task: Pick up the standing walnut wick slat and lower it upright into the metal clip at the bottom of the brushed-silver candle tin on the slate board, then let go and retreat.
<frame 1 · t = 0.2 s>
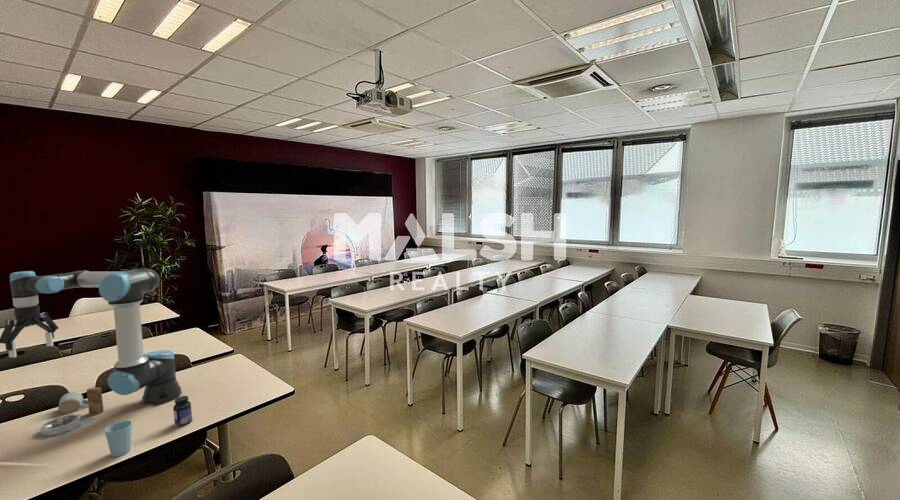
hand: (32, 351, 166), 28 cm above the table, fingers open, 13 cm apart
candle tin: (62, 427, 152), resting on slate board
cup: (121, 452, 137), on the table
walnut wick: (96, 414, 164), on the table
pill bottle: (183, 423, 157), on the table
slate board: (66, 428, 153), on the table
ceramic mug: (75, 410, 168), on the table
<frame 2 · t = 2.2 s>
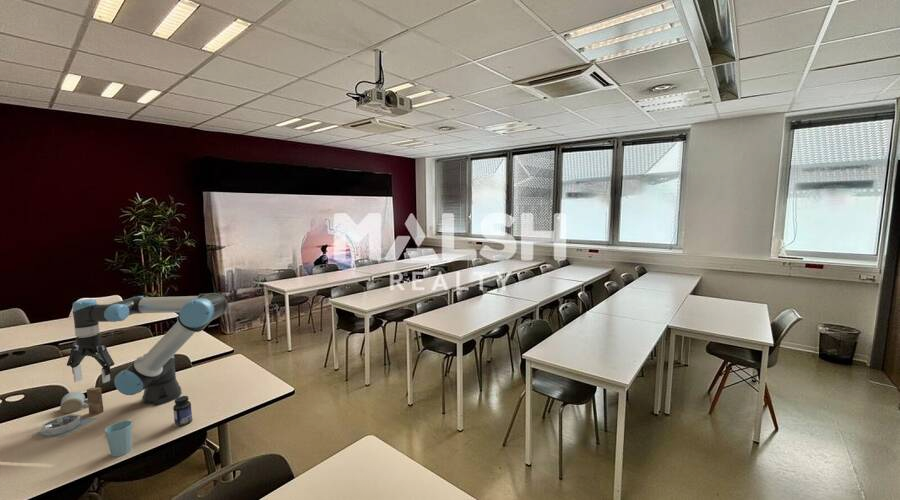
hand: (92, 381, 162), 15 cm above the table, fingers open, 13 cm apart
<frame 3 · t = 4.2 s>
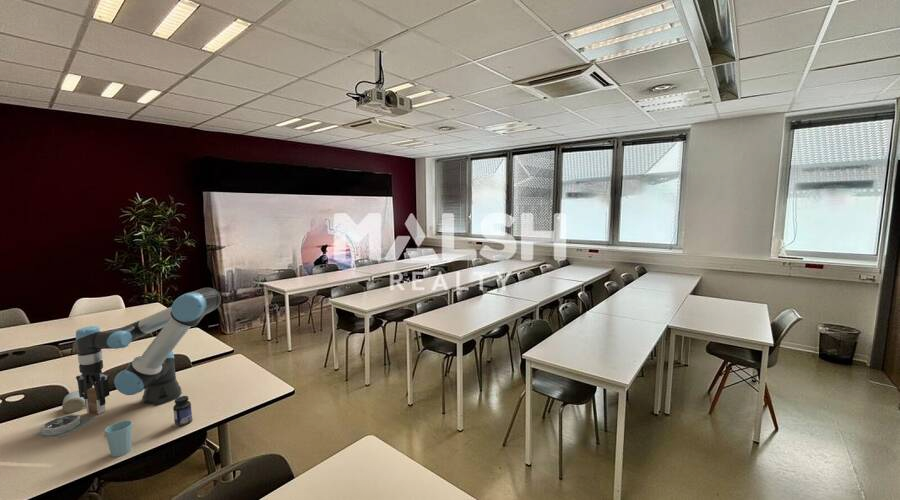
hand: (96, 411, 164), 1 cm above the table, fingers closed on walnut wick, 4 cm apart
walnut wick: (96, 414, 164), on the table, touching gripper
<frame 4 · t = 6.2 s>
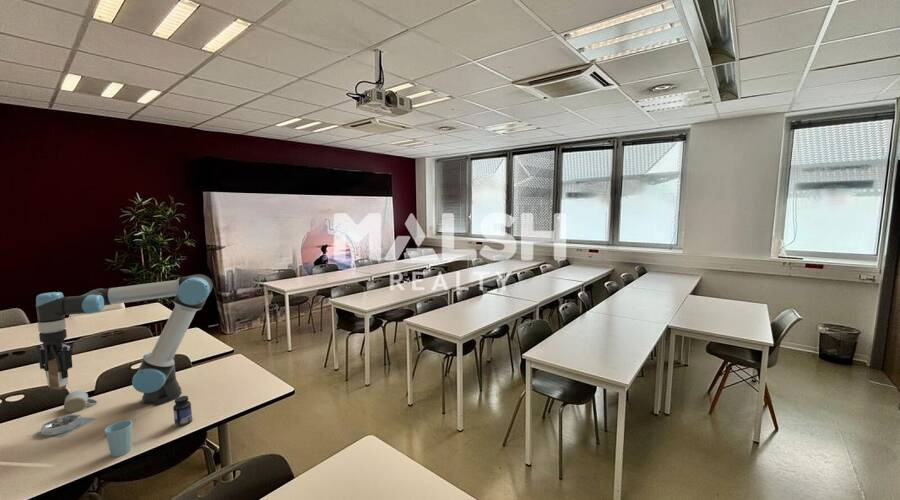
hand: (58, 385, 151), 19 cm above the table, fingers closed on walnut wick, 4 cm apart
walnut wick: (58, 387, 151), point 18 cm above the table, touching gripper
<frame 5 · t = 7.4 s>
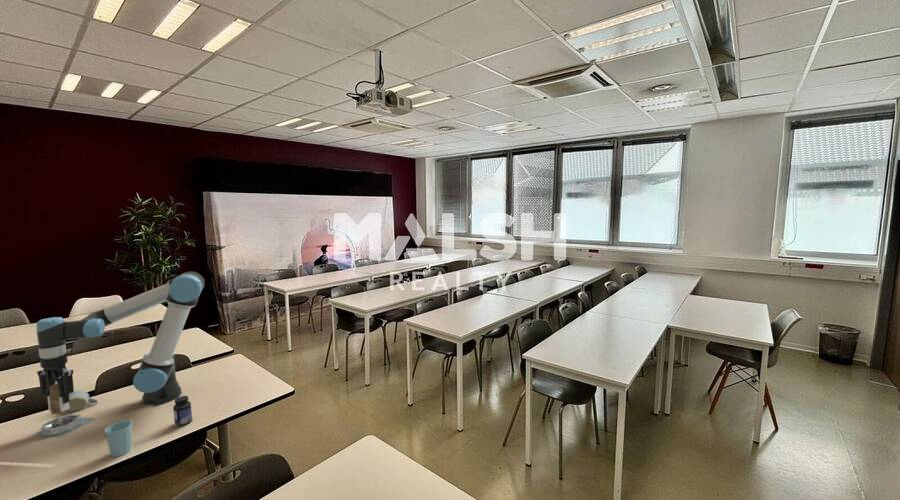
hand: (59, 409, 151), 9 cm above the table, fingers closed on walnut wick, 4 cm apart
walnut wick: (59, 412, 151), point 8 cm above the table, touching gripper
when the fingers open (5 cm above the table, at t = 8.5 s): walnut wick drops 2 cm, resting on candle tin.
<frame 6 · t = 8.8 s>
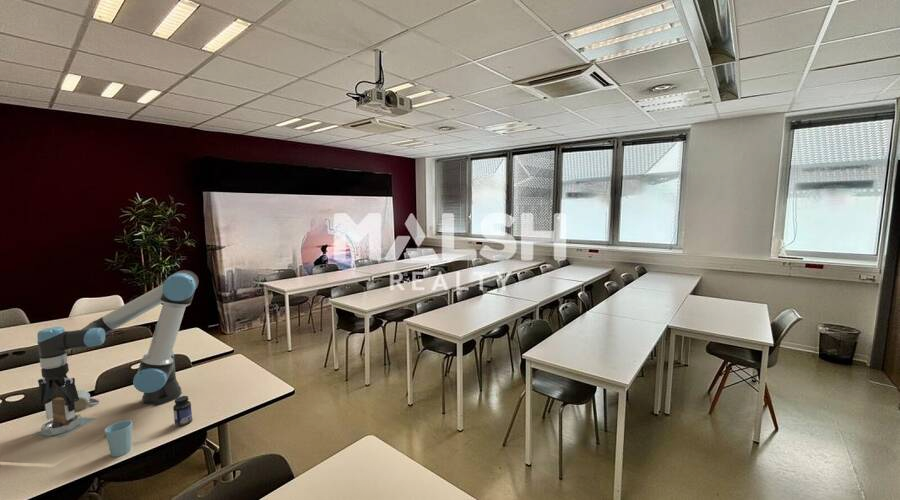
hand: (61, 417, 152), 5 cm above the table, fingers open, 8 cm apart
walnut wick: (61, 426, 152), point 1 cm above the table, touching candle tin
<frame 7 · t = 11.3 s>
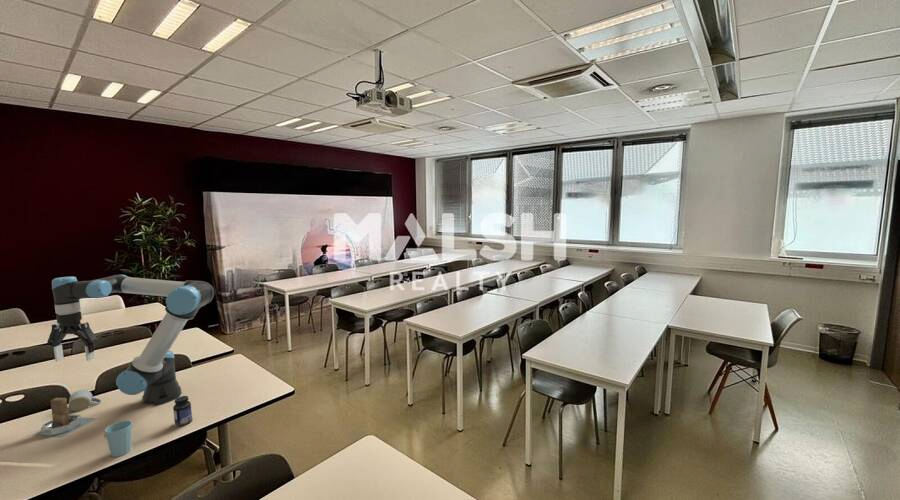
hand: (75, 360, 160), 26 cm above the table, fingers open, 13 cm apart
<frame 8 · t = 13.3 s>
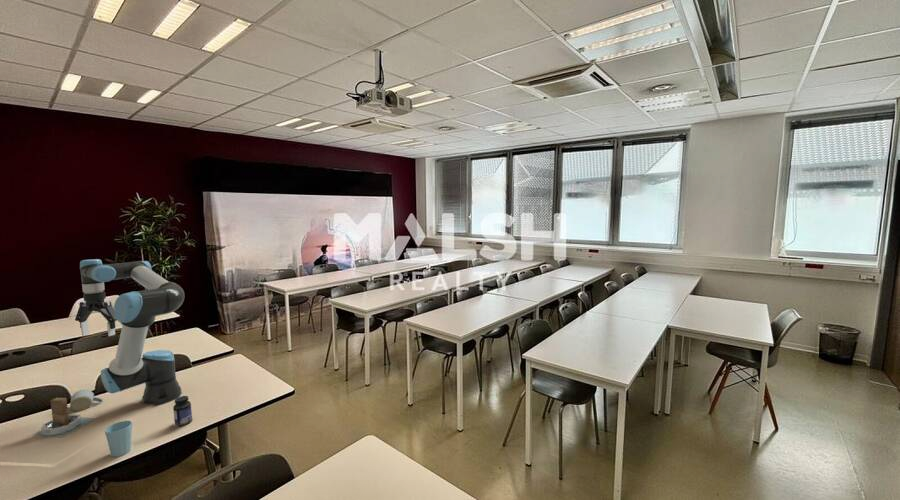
hand: (98, 335, 176), 32 cm above the table, fingers open, 13 cm apart
at the end: walnut wick 0.1 cm off-centre on the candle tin, point 0.6 cm above the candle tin's base; walnut wick tilted 0°; the gripper is holding nothing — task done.
